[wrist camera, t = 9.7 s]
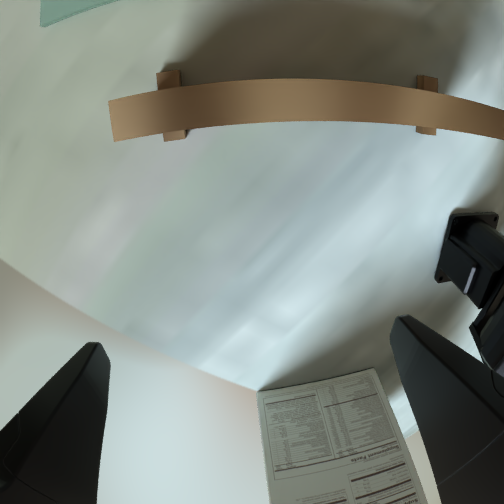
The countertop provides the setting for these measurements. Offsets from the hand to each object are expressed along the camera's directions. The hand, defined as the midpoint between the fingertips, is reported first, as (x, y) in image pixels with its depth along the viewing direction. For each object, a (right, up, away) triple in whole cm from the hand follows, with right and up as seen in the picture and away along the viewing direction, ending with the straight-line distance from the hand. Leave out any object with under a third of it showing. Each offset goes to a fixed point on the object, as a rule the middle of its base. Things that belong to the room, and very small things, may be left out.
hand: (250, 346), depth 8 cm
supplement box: (+7, -16, +24) cm, 30 cm away
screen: (+4, +12, +7) cm, 14 cm away
